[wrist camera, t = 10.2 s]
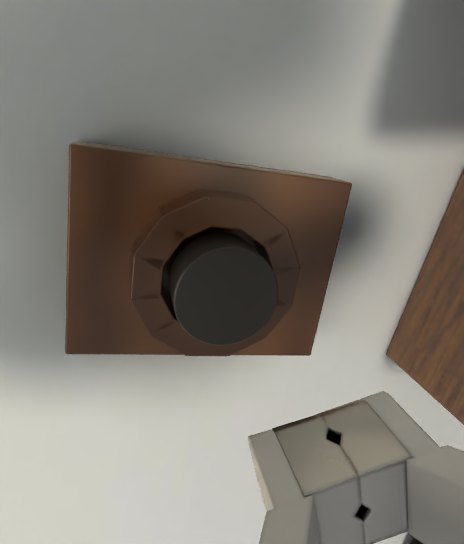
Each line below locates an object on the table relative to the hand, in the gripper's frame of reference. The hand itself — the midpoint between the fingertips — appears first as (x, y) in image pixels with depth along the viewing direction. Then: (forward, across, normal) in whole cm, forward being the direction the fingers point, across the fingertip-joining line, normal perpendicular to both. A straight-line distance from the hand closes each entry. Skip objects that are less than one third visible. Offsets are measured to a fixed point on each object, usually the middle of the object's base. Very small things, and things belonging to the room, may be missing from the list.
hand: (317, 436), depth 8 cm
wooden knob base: (+13, 0, 0) cm, 13 cm away
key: (+9, 0, 0) cm, 9 cm away
